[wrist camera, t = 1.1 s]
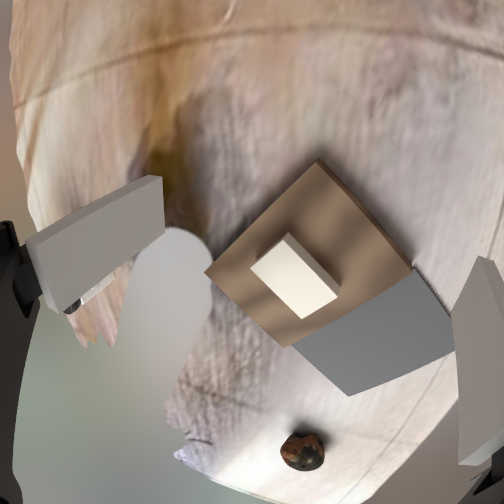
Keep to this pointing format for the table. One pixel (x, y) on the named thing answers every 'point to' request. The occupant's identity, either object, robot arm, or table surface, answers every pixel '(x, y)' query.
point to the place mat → (382, 338)
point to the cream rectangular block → (295, 277)
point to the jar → (90, 293)
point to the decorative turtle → (303, 452)
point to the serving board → (312, 254)
